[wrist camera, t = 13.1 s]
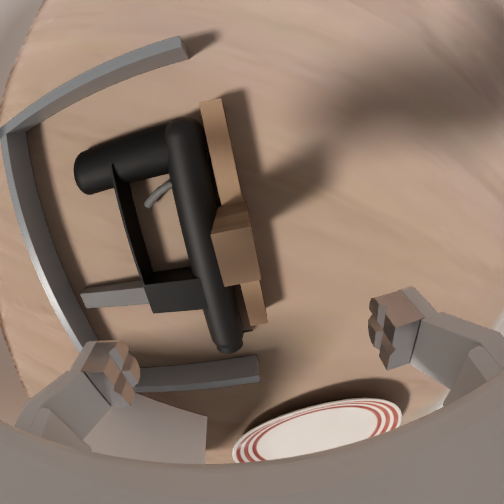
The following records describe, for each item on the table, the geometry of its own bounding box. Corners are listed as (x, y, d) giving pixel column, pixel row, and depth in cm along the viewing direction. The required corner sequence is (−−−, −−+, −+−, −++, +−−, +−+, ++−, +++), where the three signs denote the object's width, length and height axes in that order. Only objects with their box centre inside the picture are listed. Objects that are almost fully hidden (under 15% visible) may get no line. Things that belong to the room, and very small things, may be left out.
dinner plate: (203, 452, 36) (202, 467, 33) (307, 362, 28) (313, 383, 25) (320, 469, 43) (323, 481, 40) (421, 397, 35) (429, 410, 32)
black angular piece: (106, 357, 24) (257, 352, 23) (35, 169, 17) (212, 107, 16) (117, 338, 27) (257, 330, 26) (57, 163, 20) (218, 112, 19)
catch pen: (18, 127, 16) (-1, 128, 14) (186, 48, 16) (179, 35, 13) (113, 374, 28) (106, 391, 25) (258, 361, 27) (260, 381, 25)
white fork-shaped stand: (207, 416, 32) (203, 584, 8) (177, 452, 36) (168, 572, 13) (73, 362, 27) (7, 520, 4) (74, 412, 32) (35, 527, 9)
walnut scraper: (200, 108, 18) (176, 85, 10) (226, 102, 18) (219, 75, 10) (246, 310, 25) (251, 378, 17) (267, 306, 25) (280, 373, 17)
